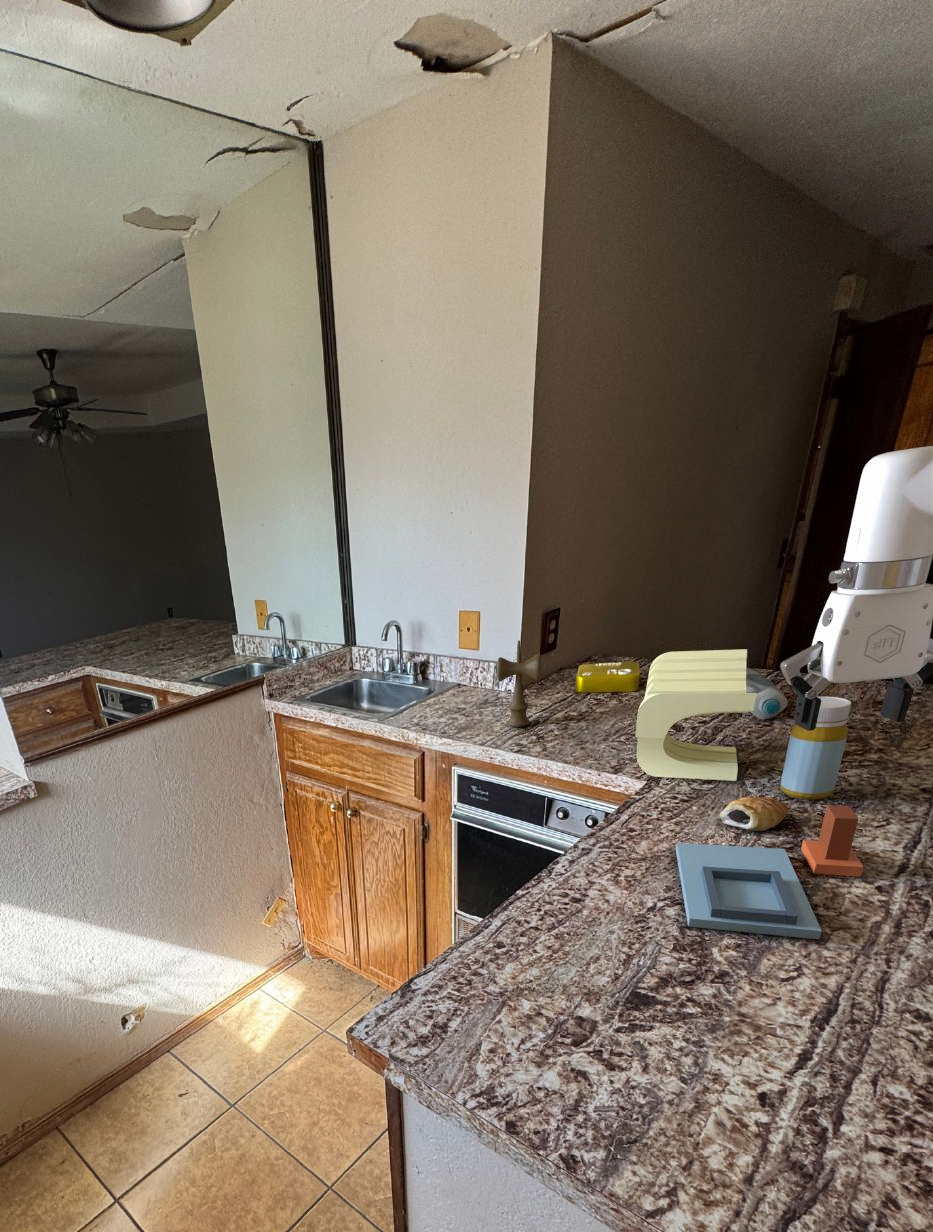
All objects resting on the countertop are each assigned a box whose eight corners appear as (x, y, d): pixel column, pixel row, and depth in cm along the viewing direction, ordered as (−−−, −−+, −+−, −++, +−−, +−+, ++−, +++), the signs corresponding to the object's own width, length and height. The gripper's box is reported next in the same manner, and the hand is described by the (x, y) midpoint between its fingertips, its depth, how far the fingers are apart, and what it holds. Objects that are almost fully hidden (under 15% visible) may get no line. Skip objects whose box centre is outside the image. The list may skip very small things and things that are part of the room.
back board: (783, 856, 90) (786, 840, 89) (819, 939, 74) (824, 922, 72) (675, 850, 95) (677, 835, 94) (688, 926, 79) (690, 910, 78)
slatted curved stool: (642, 737, 136) (651, 652, 129) (732, 740, 129) (747, 649, 121) (630, 793, 114) (639, 693, 106) (738, 800, 106) (756, 692, 98)
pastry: (755, 805, 104) (760, 783, 102) (800, 819, 98) (805, 796, 96) (714, 822, 101) (718, 799, 99) (757, 837, 95) (762, 814, 93)
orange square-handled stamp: (845, 851, 89) (858, 801, 85) (861, 877, 83) (875, 824, 80) (800, 849, 91) (811, 800, 87) (813, 873, 85) (825, 822, 82)
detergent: (702, 694, 156) (729, 724, 135) (709, 664, 153) (737, 690, 132) (765, 695, 152) (803, 726, 131) (774, 665, 149) (813, 691, 128)
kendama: (539, 728, 151) (541, 641, 142) (496, 730, 154) (495, 644, 145) (540, 720, 156) (542, 635, 147) (498, 722, 159) (497, 639, 150)
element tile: (638, 677, 177) (639, 659, 175) (638, 692, 165) (640, 673, 163) (578, 679, 184) (579, 662, 181) (575, 693, 172) (575, 675, 170)
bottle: (778, 798, 105) (796, 707, 98) (780, 782, 110) (797, 695, 103) (833, 803, 101) (855, 709, 94) (832, 786, 106) (854, 696, 99)
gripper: (817, 589, 70) (787, 739, 78) (999, 566, 68) (951, 724, 75) (779, 582, 77) (755, 721, 84) (944, 562, 74) (904, 707, 82)
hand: (847, 723), depth 80 cm, fingers open, 9 cm apart
